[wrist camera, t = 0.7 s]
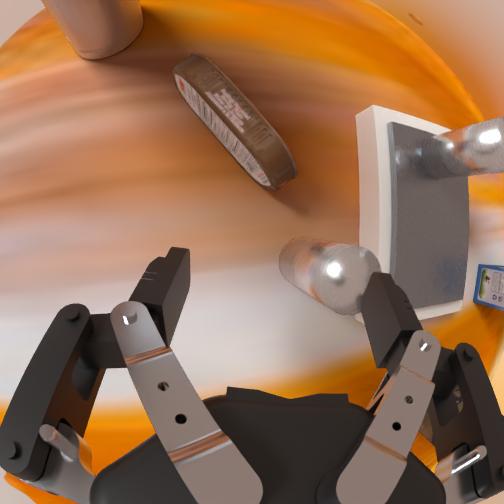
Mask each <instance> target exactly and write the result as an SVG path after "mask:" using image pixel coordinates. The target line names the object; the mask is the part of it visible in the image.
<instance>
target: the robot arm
mask: <svg viewBox="0 0 504 504" xmlns="http://www.w3.org/2000/svg"><path fill="white" fill-rule="evenodd" d="M41 1H42V3H43V4H44V6H45V7H46V9H47V10H48V12H49V13H50V15H51V16H52V18H53V19H54V21H55V22H56V24H57V25H58V27H59V28H60V30H61V31H62V33H63V34H64V36H65V37H66V39H67V40H68V42H69V43H70V45H71V46H72V48H73V49H74V50H75V52H76V53H77V54H78V55H79V56H80V57H82V58H85V59H92V60H93V59H101V58H105V57H109V56H111V55H114V54H116V53H118V52H119V51H121V50H123V49H124V48H126V47H127V46H129V45H130V44H131V43H132V42H133V41H134V40H135V39H136V38H137V36H138V35H139V34H140V32H141V30H142V28H143V23H144V21H143V14H142V10H141V5H140V0H41ZM189 287H190V251H189V249H186V248H178V247H171V248H170V250H169V252H168V254H167V256H166V257H165V258H164V257H158V258H156V259H155V260H153V261H152V262H151V263H150V264H149V266H148V267H147V269H146V271H145V272H144V274H143V276H142V279H140V281H139V283H138V284H137V286H136V288H135V290H134V291H133V293H132V295H131V297H130V299H129V300H128V301H127V302H123V303H121V304H119V305H117V306H116V307H115V308H114V309H113V310H112V312H111V313H108V314H90V312H89V310H88V308H87V307H86V306H84V305H82V304H70V305H67V306H65V307H63V308H62V309H61V310H60V311H59V312H58V313H57V315H56V317H55V318H54V320H53V322H52V323H51V325H50V327H49V328H48V330H47V332H46V334H45V335H44V337H43V339H42V341H41V342H40V344H39V346H38V348H37V350H36V351H35V353H34V355H33V357H32V359H31V361H30V363H29V365H28V367H27V368H26V370H25V372H24V374H23V376H22V378H21V381H20V383H19V385H18V387H17V389H16V391H15V393H14V396H13V398H12V400H11V402H10V405H9V407H8V409H7V412H6V414H5V416H4V419H3V421H2V424H1V427H0V466H1V467H2V468H3V469H4V470H5V471H7V472H9V473H11V474H12V475H14V476H16V477H17V478H18V479H20V480H21V481H23V482H25V483H27V484H29V485H31V486H33V487H35V488H37V489H39V490H42V491H46V492H48V493H50V494H53V495H60V496H63V497H65V498H67V499H70V500H72V501H74V502H77V503H79V504H476V503H478V502H481V501H483V500H485V499H487V498H489V497H491V496H494V495H496V494H498V493H500V492H501V491H503V490H504V421H503V418H502V414H501V411H500V408H499V405H498V402H497V399H496V397H495V394H494V391H493V388H492V386H491V383H490V380H489V378H488V375H487V373H486V370H485V368H484V365H483V363H482V360H481V358H480V356H479V354H478V352H477V350H476V349H475V348H474V347H473V346H471V345H470V344H468V343H459V344H458V345H457V346H456V348H455V349H454V350H450V349H447V348H443V347H441V346H440V343H439V341H438V339H437V338H436V337H435V336H434V335H433V334H431V333H430V332H427V331H424V330H423V329H422V326H421V324H420V322H419V320H418V318H417V315H416V313H415V311H414V309H413V307H412V305H411V303H409V302H410V301H409V299H408V297H407V295H406V293H405V292H404V291H403V290H402V289H401V288H400V287H399V286H398V285H396V284H395V282H394V280H393V278H392V276H391V274H389V273H381V272H373V273H372V275H371V277H370V280H369V282H368V285H367V287H366V290H365V292H364V294H363V297H362V300H361V314H362V317H363V320H364V324H365V327H366V330H367V334H368V337H369V341H370V344H371V348H372V352H373V356H374V359H375V363H376V367H377V368H387V371H388V372H387V373H386V374H385V376H384V378H383V379H382V381H381V383H380V385H379V387H378V388H377V390H376V392H375V394H374V395H373V397H372V399H371V401H370V402H369V404H368V406H367V407H366V408H363V407H361V406H359V405H356V404H353V403H350V402H348V395H347V394H315V395H310V396H305V397H300V398H295V399H287V398H283V397H280V396H276V395H273V394H270V393H266V392H263V391H260V390H254V389H244V388H235V387H228V386H227V393H226V395H219V396H214V397H210V398H207V399H204V400H201V399H200V397H199V395H198V394H197V392H196V391H195V389H194V387H193V386H192V384H191V382H190V381H189V379H188V377H187V375H186V374H185V372H184V370H183V369H182V367H181V365H180V363H179V361H178V360H177V358H176V356H175V354H174V353H173V351H172V349H171V348H170V347H169V346H170V343H171V340H172V337H173V335H174V332H175V329H176V326H177V323H178V320H179V317H180V314H181V311H182V309H183V306H184V303H185V300H186V297H187V295H188V292H189ZM106 368H128V371H129V374H130V376H131V379H132V381H133V383H134V386H135V388H136V391H137V393H138V395H139V397H140V400H141V402H142V404H143V406H144V409H145V411H146V413H147V415H148V417H149V419H150V421H151V423H152V425H153V428H154V430H155V432H156V433H155V434H154V435H152V436H151V437H150V438H148V439H147V440H145V441H144V442H143V443H141V444H140V445H138V446H137V447H135V448H134V449H132V450H131V451H130V452H128V453H127V454H125V455H124V456H122V457H121V458H119V459H118V460H116V461H115V462H113V463H112V464H110V465H108V466H107V467H105V468H104V469H103V470H101V471H100V472H99V473H98V475H97V476H96V475H95V473H94V471H93V469H92V464H91V461H92V453H91V449H90V447H89V445H88V444H87V443H86V442H85V441H84V440H83V437H84V433H85V430H86V427H87V424H88V420H89V417H90V414H91V411H92V408H93V405H94V402H95V399H96V396H97V393H98V390H99V387H100V385H101V382H102V379H103V376H104V374H105V371H106ZM458 388H459V390H460V393H461V396H462V399H463V408H462V410H461V412H460V413H459V409H458V405H457V402H456V398H455V395H454V392H455V391H456V390H457V389H458ZM427 408H428V413H429V417H430V422H431V427H432V432H433V437H434V443H435V448H436V454H437V461H438V464H437V466H436V469H435V473H433V472H432V471H431V470H430V469H428V468H427V467H426V466H425V465H424V464H423V463H422V462H421V461H420V460H419V459H418V458H417V457H416V456H415V455H414V454H413V453H412V452H411V451H410V449H411V447H412V444H413V442H414V440H415V438H416V435H417V433H418V431H419V428H420V426H421V423H422V421H423V418H424V416H425V413H426V411H427Z"/></svg>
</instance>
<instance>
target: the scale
mask: <svg viewBox="0 0 504 504" xmlns="http://www.w3.org/2000/svg"><path fill="white" fill-rule="evenodd" d="M355 118H356V130H357V144H358V162H359V194H360V228H359V246H360V247H364V248H366V249H368V250H370V251H371V252H372V253H373V254H374V255H375V256H376V258H377V259H378V261H379V263H380V266H381V271H382V273H389V271H390V254H391V219H392V206H391V171H390V154H389V142H388V131H387V123H389V122H392V121H393V122H396V123H400V124H404V125H407V126H410V127H414V128H417V129H420V130H424V131H427V132H430V133H433V134H436V135H438V134H442V133H445V132H449V131H452V130H450V129H447V128H444V127H442V126H439V125H437V124H434V123H431V122H428V121H425V120H422V119H419V118H416V117H413V116H410V115H407V114H404V113H401V112H397V111H394V110H391V109H387V108H383V107H380V106H376V105H372V106H370V107H368V108H367V109H365V110H364V111H362V112H360V113H359V114H357V115H355ZM467 260H468V257H467ZM461 307H462V300H458V301H453V302H449V303H444V304H439V305H433V306H428V307H423V308H417V309H414V311H415V313H416V315H417V318H418V320H423V319H427V318H432V317H436V316H441V315H445V314H449V313H453V312H457V311H461ZM354 318H355V319H356V320H358V321H359V322H361V323H363V324H364V320H363V317H362V314H361V312H360V313H358V314H355V316H354ZM364 325H365V324H364Z"/></svg>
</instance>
